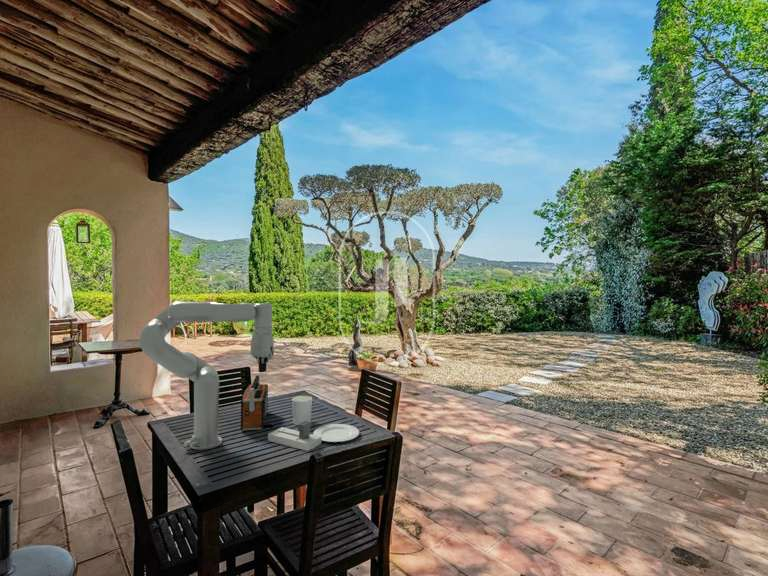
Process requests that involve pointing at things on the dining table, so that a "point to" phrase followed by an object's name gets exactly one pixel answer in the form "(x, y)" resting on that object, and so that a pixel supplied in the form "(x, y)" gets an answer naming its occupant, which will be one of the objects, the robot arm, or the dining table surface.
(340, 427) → the plate
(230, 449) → the dining table surface
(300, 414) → the candle holder
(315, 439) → the fader console
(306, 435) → the fader knob
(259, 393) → the radio cassette player
